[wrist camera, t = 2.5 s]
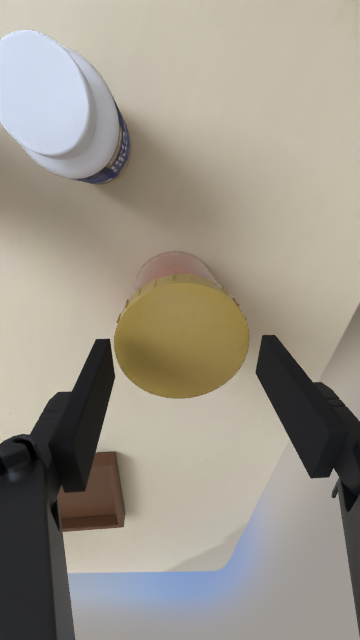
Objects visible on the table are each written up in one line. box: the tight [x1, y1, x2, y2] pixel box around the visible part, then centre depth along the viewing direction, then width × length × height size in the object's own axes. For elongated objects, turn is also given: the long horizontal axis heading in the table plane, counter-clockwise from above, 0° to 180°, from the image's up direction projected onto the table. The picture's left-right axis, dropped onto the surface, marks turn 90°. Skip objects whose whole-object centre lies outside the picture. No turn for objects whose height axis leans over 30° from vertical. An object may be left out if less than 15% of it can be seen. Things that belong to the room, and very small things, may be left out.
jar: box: [130, 252, 220, 298], centre depth 20 cm, size 8×8×10 cm
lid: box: [114, 274, 249, 398], centre depth 16 cm, size 9×9×2 cm
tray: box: [57, 452, 125, 532], centre depth 36 cm, size 18×16×2 cm
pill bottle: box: [0, 30, 130, 184], centre depth 14 cm, size 5×5×10 cm
